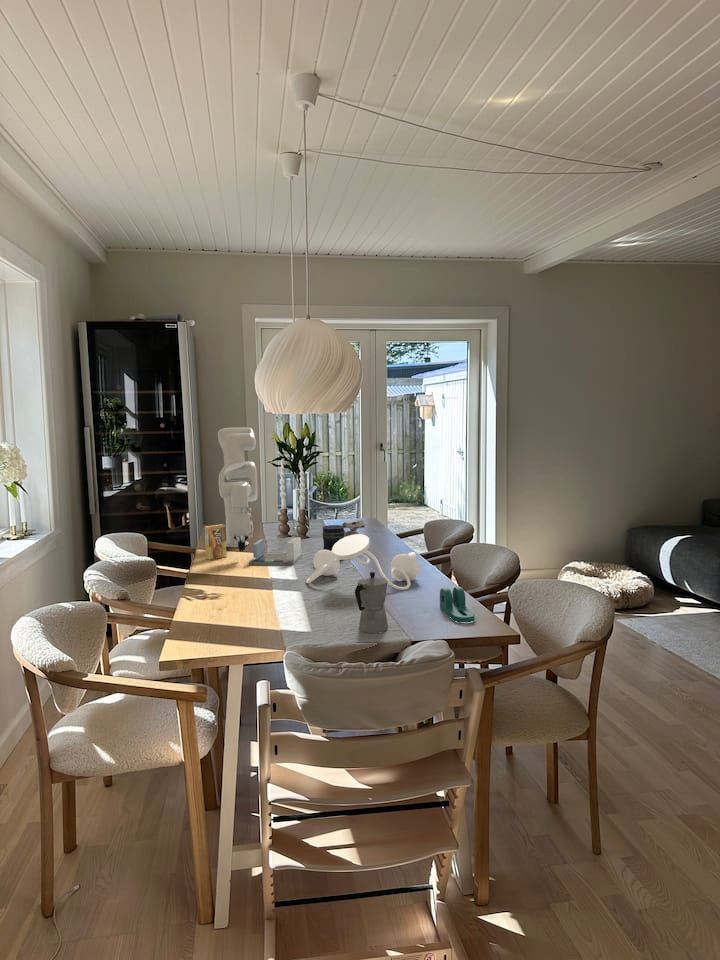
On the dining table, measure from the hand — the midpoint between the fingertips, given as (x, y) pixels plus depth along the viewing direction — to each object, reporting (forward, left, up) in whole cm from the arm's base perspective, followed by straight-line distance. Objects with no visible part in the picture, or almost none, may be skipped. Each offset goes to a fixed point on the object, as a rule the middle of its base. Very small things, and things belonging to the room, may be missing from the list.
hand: (241, 550), depth 312 cm
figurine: (-21, +49, -5) cm, 54 cm away
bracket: (+76, +97, -5) cm, 124 cm away
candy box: (-5, -14, -5) cm, 16 cm away
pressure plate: (+1, +8, -3) cm, 8 cm away
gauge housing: (0, +16, -5) cm, 17 cm away
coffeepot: (+93, +71, -5) cm, 117 cm away
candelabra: (+35, +59, -5) cm, 69 cm away
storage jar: (-4, +42, -5) cm, 42 cm away
